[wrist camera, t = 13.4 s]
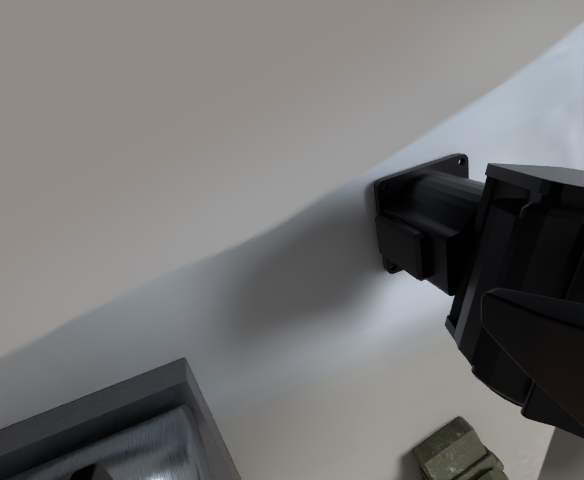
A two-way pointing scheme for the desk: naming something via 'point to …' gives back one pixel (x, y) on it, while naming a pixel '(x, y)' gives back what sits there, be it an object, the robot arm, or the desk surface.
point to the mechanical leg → (457, 455)
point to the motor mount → (123, 434)
